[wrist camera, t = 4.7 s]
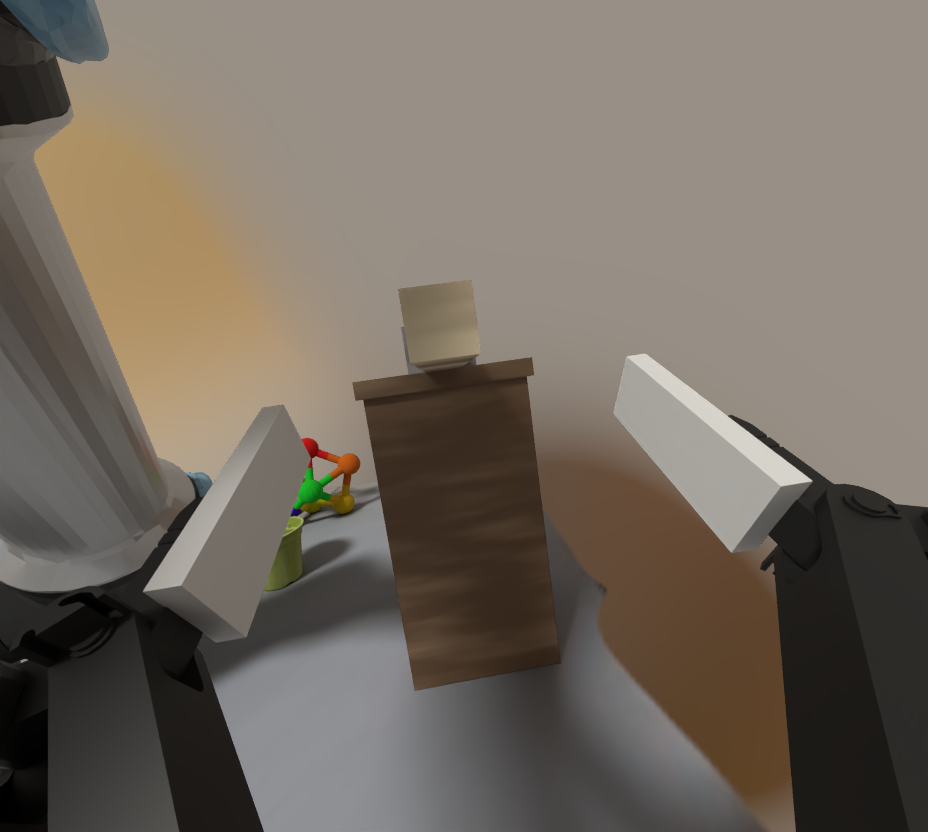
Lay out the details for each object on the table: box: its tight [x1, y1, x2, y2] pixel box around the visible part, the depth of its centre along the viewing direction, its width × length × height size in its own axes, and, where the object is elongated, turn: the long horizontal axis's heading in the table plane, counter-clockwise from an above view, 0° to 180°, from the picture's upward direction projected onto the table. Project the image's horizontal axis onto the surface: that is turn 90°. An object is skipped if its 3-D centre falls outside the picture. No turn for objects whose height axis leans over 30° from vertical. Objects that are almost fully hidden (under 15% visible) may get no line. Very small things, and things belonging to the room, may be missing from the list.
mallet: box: [398, 280, 481, 375], centre depth 27 cm, size 28×7×5 cm, turn 4°
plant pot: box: [264, 517, 304, 591], centre depth 52 cm, size 9×9×9 cm
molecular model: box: [290, 438, 360, 517], centre depth 75 cm, size 21×15×20 cm
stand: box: [353, 358, 560, 690], centre depth 36 cm, size 15×15×29 cm
